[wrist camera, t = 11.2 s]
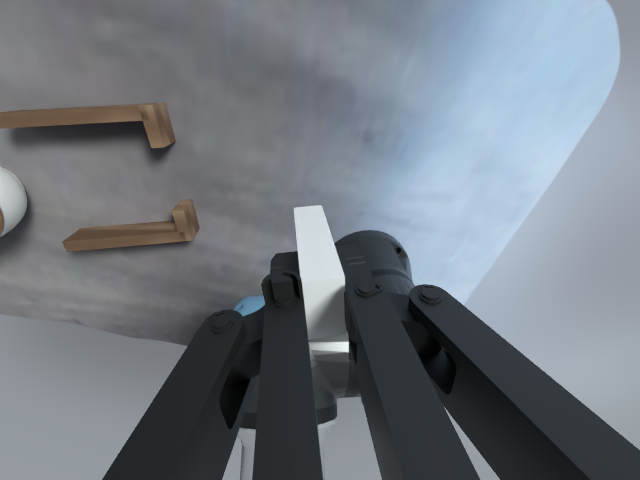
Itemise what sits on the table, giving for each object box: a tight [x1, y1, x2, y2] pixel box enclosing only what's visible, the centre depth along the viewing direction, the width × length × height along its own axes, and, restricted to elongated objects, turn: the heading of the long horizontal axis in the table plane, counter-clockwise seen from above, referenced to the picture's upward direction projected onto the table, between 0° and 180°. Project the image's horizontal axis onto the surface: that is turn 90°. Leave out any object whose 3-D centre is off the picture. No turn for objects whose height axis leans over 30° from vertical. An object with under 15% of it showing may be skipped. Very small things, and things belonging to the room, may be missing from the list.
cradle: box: [0, 103, 199, 252], centre depth 36 cm, size 17×16×4 cm
